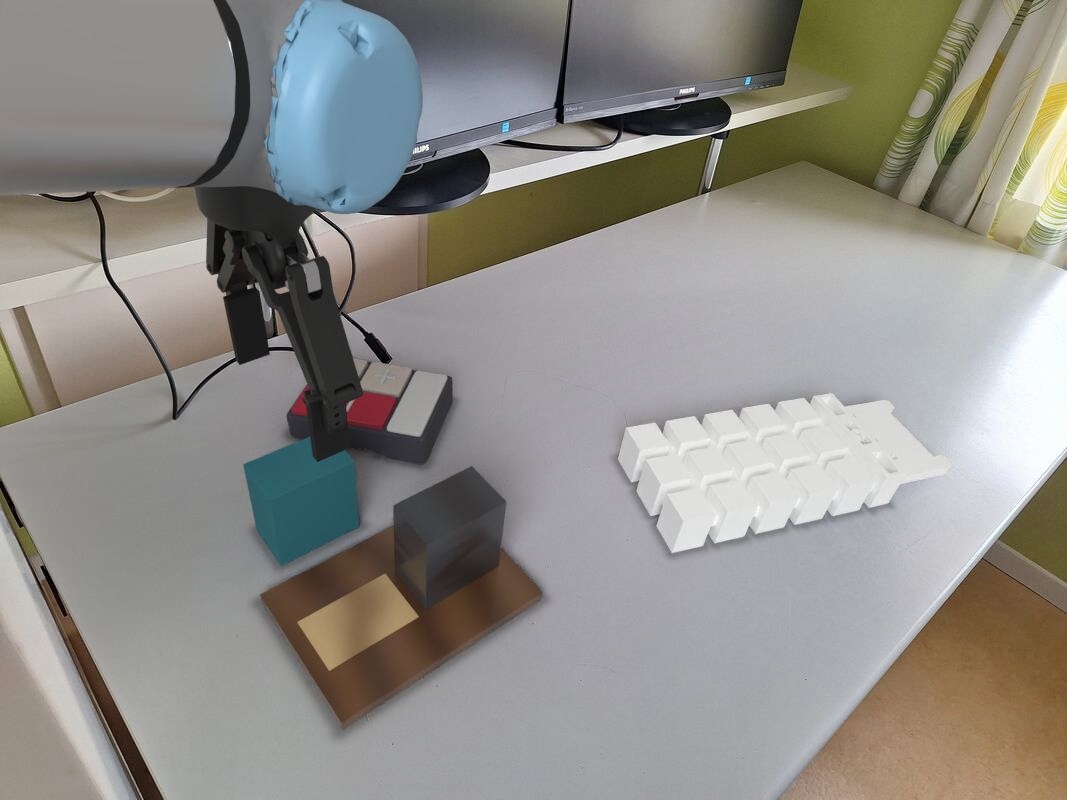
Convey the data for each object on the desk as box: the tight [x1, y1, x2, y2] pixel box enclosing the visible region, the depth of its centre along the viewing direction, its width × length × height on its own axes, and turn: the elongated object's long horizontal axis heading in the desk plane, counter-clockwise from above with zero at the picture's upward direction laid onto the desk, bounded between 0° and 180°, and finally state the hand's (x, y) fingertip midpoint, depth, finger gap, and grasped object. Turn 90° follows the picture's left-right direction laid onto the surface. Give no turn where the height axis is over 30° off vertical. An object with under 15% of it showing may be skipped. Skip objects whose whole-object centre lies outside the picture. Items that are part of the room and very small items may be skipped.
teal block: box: [243, 437, 360, 567], centre depth 69 cm, size 8×5×9 cm, turn 130°
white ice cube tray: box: [617, 392, 952, 554], centre depth 83 cm, size 13×5×35 cm
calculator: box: [286, 357, 454, 465], centre depth 83 cm, size 11×4×15 cm
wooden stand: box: [259, 465, 543, 731], centre depth 64 cm, size 20×14×10 cm
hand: (289, 402), depth 61 cm, fingers open, 13 cm apart
